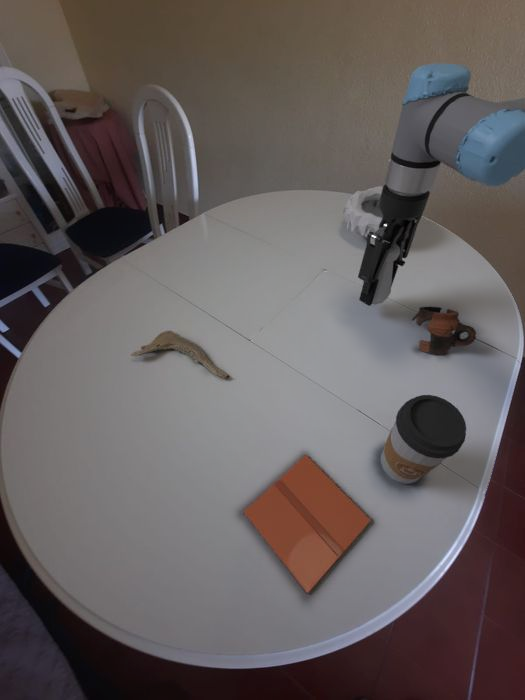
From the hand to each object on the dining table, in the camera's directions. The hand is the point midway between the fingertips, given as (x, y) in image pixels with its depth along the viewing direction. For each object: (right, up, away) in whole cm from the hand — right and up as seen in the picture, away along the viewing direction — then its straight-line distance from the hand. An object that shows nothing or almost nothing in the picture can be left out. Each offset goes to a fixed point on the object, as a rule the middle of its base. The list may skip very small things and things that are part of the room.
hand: (374, 295), depth 73 cm
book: (-18, -36, -24) cm, 47 cm away
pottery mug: (+12, -10, -2) cm, 16 cm away
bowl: (+8, +21, +24) cm, 33 cm away
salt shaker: (0, -1, +1) cm, 1 cm away
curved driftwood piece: (-41, -15, -6) cm, 44 cm away
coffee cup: (-2, -30, -19) cm, 36 cm away
